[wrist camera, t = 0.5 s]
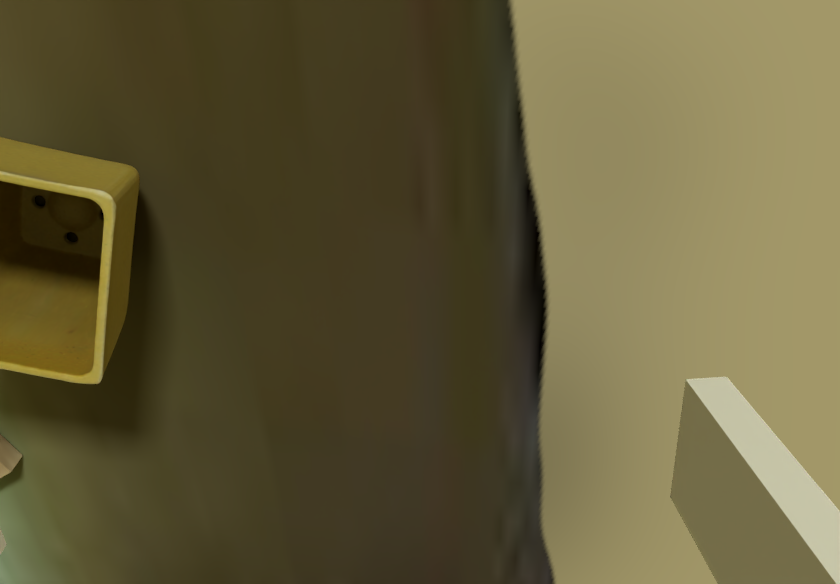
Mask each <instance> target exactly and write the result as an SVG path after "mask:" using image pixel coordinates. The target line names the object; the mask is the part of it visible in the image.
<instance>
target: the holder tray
mask: <svg viewBox="0 0 840 584" xmlns="http://www.w3.org/2000/svg"><path fill="white" fill-rule="evenodd" d="M22 456H23V455H22V454H21V453H20V452H19V451H18V450H17V449H15V448H14V447H13V446H12V445H11V444H10V443H9V442H8V441H7V440H6V439H5V438H4V437H3V436H2V435H1V434H0V478H1V477H3V476H5V475H7V474H8V473H10V472H11V471H12V470H13V469H14V467H15V466H16V464H17V463H18V462H19V460H20V459H21V457H22Z"/></svg>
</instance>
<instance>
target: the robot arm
mask: <svg viewBox="0 0 840 584" xmlns="http://www.w3.org/2000/svg"><path fill="white" fill-rule="evenodd" d="M670 497H671V499H672V501H673V503H674V504H675V506H676V508H677V510H678V512H679V514H680V515H681V517H682V519H683V521H684V523H685V525H686V526H687V528H688V530H689V532H690V534H691V536H692V537H693V539H694V541H695V543H696V545H697V547H698V548H699V550H700V552H701V554H702V556H703V558H704V559H705V561H706V563H707V565H708V567H709V569H710V570H711V572H712V574H713V576H714V578H715V579H716V581H717V583H718V584H840V511H839V510H838V509H837V507H836V506H835V505H834V504H833V503H832V502H831V500H830V499H829V498H828V497H827V496H826V494H825V493H824V492H823V491H822V490H821V488H820V487H819V486H818V485H817V484H816V483H815V481H814V480H813V479H812V478H811V477H810V475H809V474H808V473H807V472H806V471H805V469H804V468H803V467H802V466H801V465H800V463H799V462H798V461H797V460H796V459H795V458H794V456H793V455H792V454H791V453H790V452H789V451H788V449H787V448H786V447H785V446H784V444H783V443H782V442H781V441H780V440H779V438H778V437H777V436H776V435H775V434H774V432H773V431H772V430H771V429H770V428H769V427H768V425H767V424H766V423H765V422H764V421H763V419H762V418H761V417H760V416H759V415H758V413H757V412H756V411H755V410H754V409H753V408H752V406H751V405H750V404H749V403H748V402H747V400H746V399H745V398H744V397H743V396H742V394H741V393H740V392H739V391H738V390H737V388H736V387H735V386H734V385H733V384H732V383H731V381H730V380H729V379H728V378H727V377H716V378H700V379H686V382H685V390H684V397H683V405H682V412H681V420H680V427H679V435H678V442H677V450H676V457H675V465H674V473H673V480H672V488H671V496H670ZM6 545H7V544H6V542H5V539H4V536H3V534H2V531H1V529H0V554H1V553H2V551H3V549H4V548H5V546H6Z"/></svg>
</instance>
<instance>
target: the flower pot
mask: <svg viewBox="0 0 840 584" xmlns="http://www.w3.org/2000/svg"><path fill="white" fill-rule="evenodd" d="M139 181H140V179H139V174H138V172H137V170H136V169H135V168H133V167H132V166H129V165H126V164H122V163H116V162H111V161H106V160H102V159H97V158H92V157H87V156H82V155H78V154H73V153H68V152H64V151H59V150H54V149H50V148H45V147H41V146H36V145H32V144H27V143H23V142H19V141H15V140H10V139H6V138H2V137H0V369H5V370H10V371H15V372H21V373H25V374H30V375H35V376H41V377H46V378H51V379H57V380H63V381H67V382H72V383H81V384H99V383H100V382H101V380H102V378H103V375H104V372H105V370H106V367H107V365H108V362H109V360H110V357H111V355H112V352H113V350H114V347H115V345H116V342H117V340H118V337H119V334H120V332H121V329H122V327H123V324H124V321H125V317H126V313H127V306H128V297H129V285H130V273H131V260H132V248H133V238H134V228H135V218H136V209H137V199H138V192H139ZM38 195H39V196H42V197H43V198H44V199H45V201H46V204H45V205H44V206H38V205H37V204H36V203H35V197H36V196H38ZM102 211H103V215H104V218H103V217H102V215H101V212H102ZM69 232H73V233H75V234H76V235H77V237H78V239H77V241H76V242H71V241H69V240H68V239H67V236H66V235H67V233H69Z"/></svg>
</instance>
